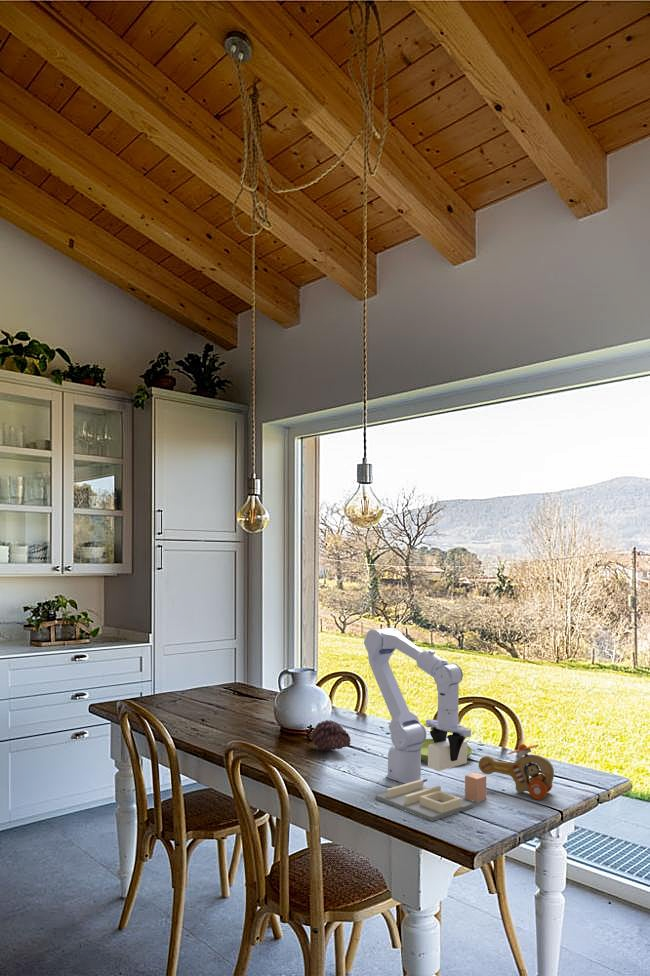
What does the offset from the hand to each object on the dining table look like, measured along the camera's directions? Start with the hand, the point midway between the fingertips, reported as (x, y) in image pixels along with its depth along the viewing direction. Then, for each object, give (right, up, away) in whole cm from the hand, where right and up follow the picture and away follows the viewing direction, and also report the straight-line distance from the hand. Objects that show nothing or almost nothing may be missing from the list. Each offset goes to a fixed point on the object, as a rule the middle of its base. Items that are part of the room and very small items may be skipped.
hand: (447, 758), depth 208 cm
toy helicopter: (+20, -10, 0) cm, 22 cm away
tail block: (+7, -9, -6) cm, 12 cm away
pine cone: (-32, -11, +36) cm, 49 cm away
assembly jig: (-8, -8, -10) cm, 15 cm away
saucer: (+3, -12, +33) cm, 35 cm away
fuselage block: (0, -2, 0) cm, 2 cm away
